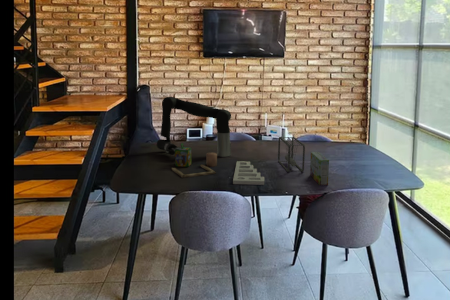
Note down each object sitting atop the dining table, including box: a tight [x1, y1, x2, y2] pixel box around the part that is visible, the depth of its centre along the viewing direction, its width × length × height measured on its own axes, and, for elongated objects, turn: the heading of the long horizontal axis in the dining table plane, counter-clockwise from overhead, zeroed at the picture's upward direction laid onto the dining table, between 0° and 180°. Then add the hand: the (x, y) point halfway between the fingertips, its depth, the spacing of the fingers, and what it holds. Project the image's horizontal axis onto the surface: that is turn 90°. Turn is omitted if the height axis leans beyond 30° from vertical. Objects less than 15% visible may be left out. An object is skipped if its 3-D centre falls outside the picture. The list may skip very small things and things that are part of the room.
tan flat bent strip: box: [171, 164, 217, 179], centre depth 281 cm, size 22×20×1 cm
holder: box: [232, 160, 265, 186], centre depth 277 cm, size 45×18×3 cm, turn 176°
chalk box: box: [174, 142, 192, 168], centre depth 295 cm, size 9×9×15 cm
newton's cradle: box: [277, 136, 306, 173], centre depth 293 cm, size 30×10×18 cm, turn 6°
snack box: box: [309, 151, 330, 186], centre depth 263 cm, size 21×6×15 cm, turn 5°
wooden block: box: [205, 152, 218, 168], centre depth 296 cm, size 7×7×8 cm
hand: (178, 153), depth 304 cm, fingers closed
